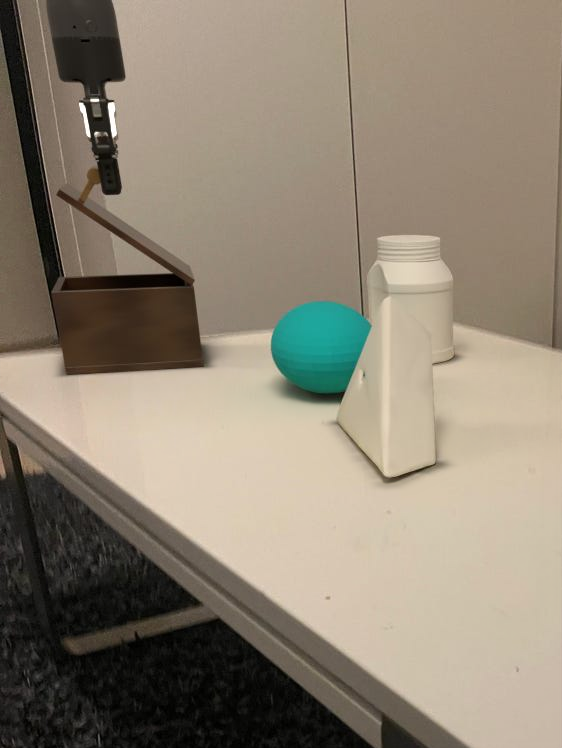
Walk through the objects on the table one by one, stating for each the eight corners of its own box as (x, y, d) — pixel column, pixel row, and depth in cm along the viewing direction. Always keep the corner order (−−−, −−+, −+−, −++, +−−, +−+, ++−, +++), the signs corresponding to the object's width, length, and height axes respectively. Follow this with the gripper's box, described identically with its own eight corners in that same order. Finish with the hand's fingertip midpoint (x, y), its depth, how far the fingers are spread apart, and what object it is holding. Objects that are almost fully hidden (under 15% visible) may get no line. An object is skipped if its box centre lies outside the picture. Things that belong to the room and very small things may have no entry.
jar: (362, 352, 137) (356, 236, 130) (423, 345, 142) (420, 232, 135) (399, 368, 129) (395, 244, 122) (463, 360, 133) (462, 240, 126)
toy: (393, 405, 112) (389, 313, 107) (278, 411, 109) (270, 317, 104) (372, 371, 127) (368, 289, 122) (271, 376, 124) (263, 292, 119)
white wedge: (478, 423, 85) (440, 313, 98) (414, 404, 82) (384, 294, 96) (413, 552, 94) (386, 435, 107) (353, 538, 91) (333, 420, 105)
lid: (55, 195, 116) (76, 156, 114) (63, 188, 127) (82, 153, 126) (191, 285, 124) (212, 251, 123) (187, 271, 136) (206, 239, 135)
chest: (66, 374, 124) (50, 292, 120) (72, 352, 136) (58, 276, 132) (203, 366, 129) (193, 286, 124) (198, 346, 140) (189, 272, 136)
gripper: (55, 39, 120) (83, 190, 128) (46, 30, 108) (78, 198, 116) (120, 39, 122) (144, 188, 130) (118, 30, 110) (144, 195, 118)
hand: (112, 192), depth 123 cm, fingers closed on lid, 6 cm apart
